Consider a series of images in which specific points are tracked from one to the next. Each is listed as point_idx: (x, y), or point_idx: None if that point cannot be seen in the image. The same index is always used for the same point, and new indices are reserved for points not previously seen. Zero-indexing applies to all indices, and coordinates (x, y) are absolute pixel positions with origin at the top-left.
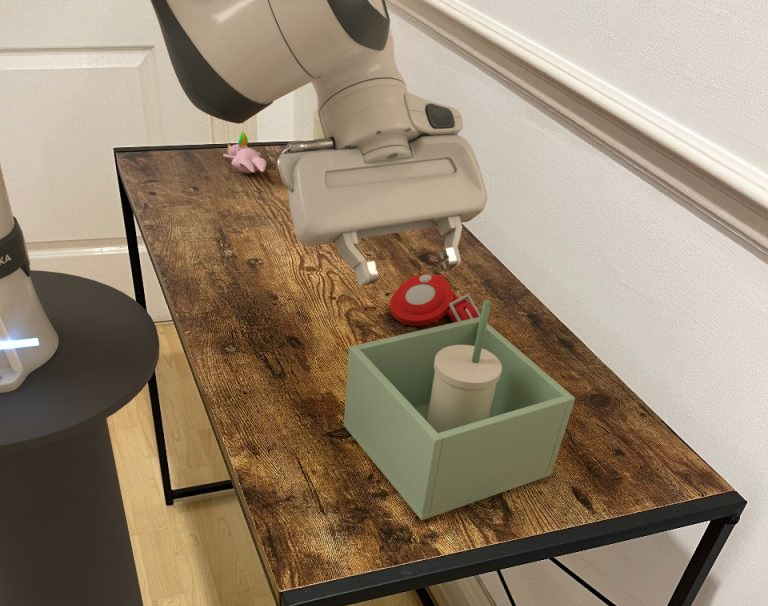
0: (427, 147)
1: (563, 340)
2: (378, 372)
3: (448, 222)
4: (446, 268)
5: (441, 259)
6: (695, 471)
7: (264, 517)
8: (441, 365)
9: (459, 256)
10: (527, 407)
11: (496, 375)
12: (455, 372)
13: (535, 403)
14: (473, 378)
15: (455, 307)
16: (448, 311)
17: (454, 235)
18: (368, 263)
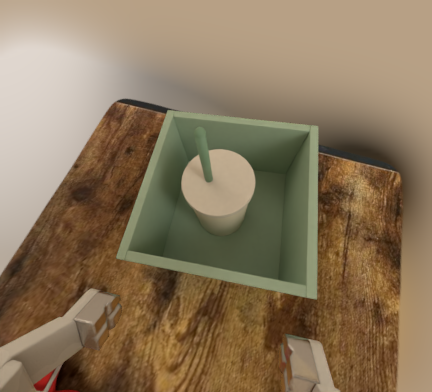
0: None
1: (10, 273)
2: (311, 230)
3: (4, 388)
4: (118, 304)
5: (107, 327)
6: (110, 118)
7: (394, 232)
8: (248, 190)
9: (84, 295)
10: (214, 119)
11: (209, 151)
12: (243, 174)
13: (172, 157)
14: (233, 158)
15: (44, 384)
16: (53, 389)
17: (40, 340)
18: (312, 374)
